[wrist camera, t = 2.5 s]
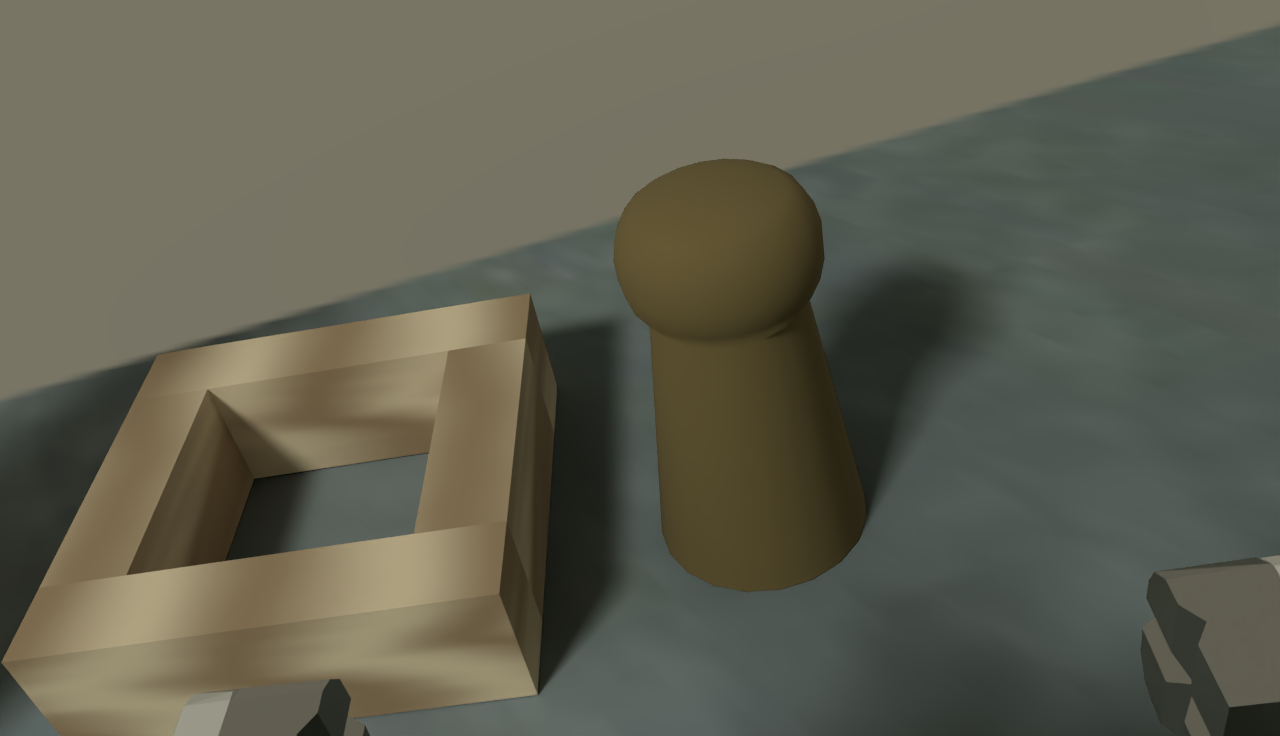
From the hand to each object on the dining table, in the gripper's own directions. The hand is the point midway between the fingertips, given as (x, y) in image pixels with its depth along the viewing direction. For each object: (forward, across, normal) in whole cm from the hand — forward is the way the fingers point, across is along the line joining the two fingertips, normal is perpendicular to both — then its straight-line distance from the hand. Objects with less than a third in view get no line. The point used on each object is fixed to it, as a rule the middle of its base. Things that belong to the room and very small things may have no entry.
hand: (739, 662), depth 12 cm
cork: (+18, 0, +15) cm, 23 cm away
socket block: (+18, +13, +15) cm, 27 cm away
